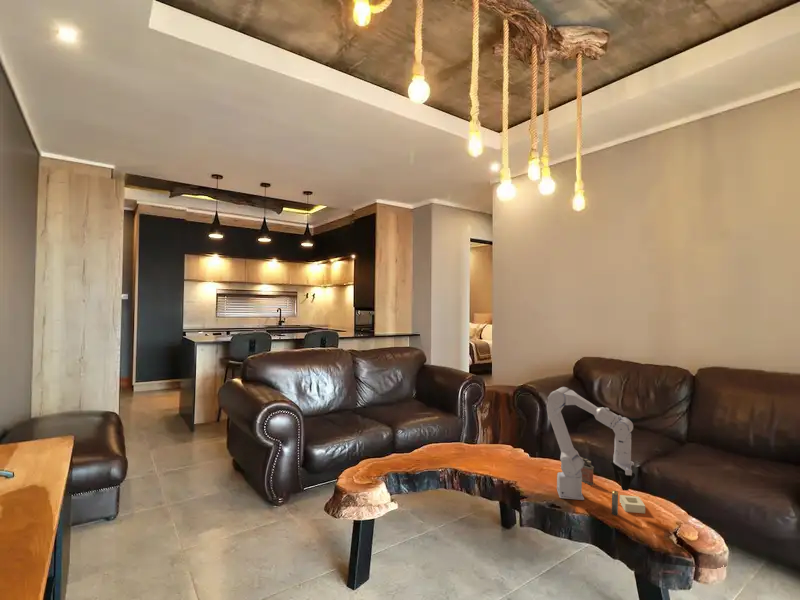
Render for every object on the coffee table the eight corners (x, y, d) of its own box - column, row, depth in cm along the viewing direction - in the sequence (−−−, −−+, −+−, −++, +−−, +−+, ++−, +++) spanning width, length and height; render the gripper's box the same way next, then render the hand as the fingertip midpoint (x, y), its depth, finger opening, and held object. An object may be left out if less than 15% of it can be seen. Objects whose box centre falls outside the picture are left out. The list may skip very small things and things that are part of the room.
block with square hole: (625, 511, 162) (625, 504, 162) (619, 502, 169) (619, 494, 169) (645, 513, 161) (645, 505, 161) (638, 503, 168) (638, 496, 168)
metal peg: (612, 515, 160) (613, 493, 160) (610, 512, 162) (611, 490, 162) (618, 515, 160) (619, 493, 159) (616, 512, 162) (617, 490, 161)
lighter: (595, 483, 185) (595, 461, 184) (590, 485, 183) (590, 463, 182) (579, 476, 192) (579, 454, 191) (574, 478, 190) (574, 456, 189)
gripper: (641, 459, 154) (640, 495, 154) (627, 443, 168) (626, 477, 169) (620, 457, 155) (619, 493, 156) (608, 442, 169) (607, 475, 170)
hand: (621, 485), depth 162 cm, fingers open, 7 cm apart
